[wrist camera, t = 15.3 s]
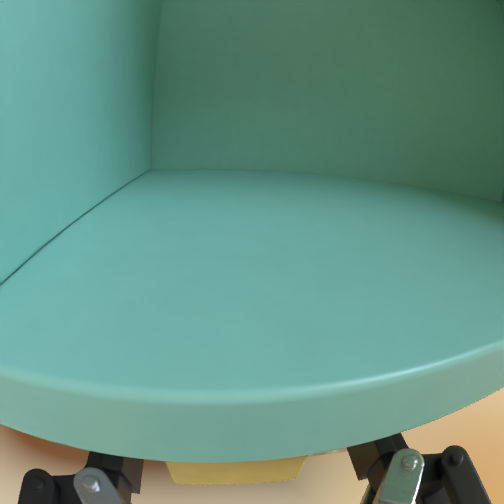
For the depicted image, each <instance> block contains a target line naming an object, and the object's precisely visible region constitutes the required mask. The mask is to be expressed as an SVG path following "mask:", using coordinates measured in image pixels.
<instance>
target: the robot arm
mask: <svg viewBox="0 0 504 504" xmlns="http://www.w3.org/2000/svg"><path fill="white" fill-rule="evenodd" d="M347 450H348V452H349V456H350V458H351V461H352V464H353V466H354V469H355V472H356V475H357V478H358V480H363V479H366V478H368V481H369V484H368V486H367V489H366V491H365V493H364V496H363V498H362V500H361V503H360V504H414V502H415V501H416V504H491V501H490V499H489V497H488V495H487V493H486V490H485V488H484V486H483V484H482V482H481V480H480V477H479V475H478V473H477V471H476V469H475V467H474V465H473V463H472V461H471V459H470V457H469V455H468V454H467V452H466V450H465V449H463V448H462V447H460V446H454V445H453V446H449V447H448V448H446V449H445V450H444V451H443V452H442V453H438V454H420V453H419V452H418V451H416V450H414V449H410V448H409V447H408V446H407V444H406V442H405V440H404V438H403V436H402V434H401V433H397V434H394V435H391V436H388V437H384V438H381V439H377V440H374V441H370V442H366V443H363V444H359V445H354V446H350V447H347ZM143 460H144V459H138V458H130V457H123V456H116V455H110V454H104V453H99V452H94V451H90V452H89V456H88V460H87V464H86V465H85V467H84V468H83V469H82V470H80V471H79V472H78V473H77V474H73V475H62V476H51V475H50V474H49V473H47V472H46V471H44V470H42V469H32V470H30V471H28V472H27V473H26V474H25V476H24V478H23V482H22V486H21V491H20V495H19V500H18V504H132V503H131V502H130V501H131V493H137V494H140V486H141V477H142V469H143Z"/></svg>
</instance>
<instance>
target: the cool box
mask: <svg viewBox="0 0 504 504" xmlns="http://www.w3.org/2000/svg"><path fill="white" fill-rule="evenodd" d="M503 387H504V0H0V424H2V425H5V426H7V427H10V428H13V429H15V430H18V431H21V432H24V433H26V434H29V435H32V436H36V437H39V438H42V439H45V440H49V441H53V442H56V443H60V444H64V445H67V446H71V447H75V448H80V449H84V450H89V451H94V452H99V453H104V454H110V455H116V456H123V457H130V458H138V459H148V460H159V461H172V462H195V463H223V462H247V461H261V460H272V459H281V458H289V457H297V456H303V455H310V454H316V453H321V452H327V451H332V450H337V449H341V448H346V447H350V446H354V445H359V444H363V443H366V442H370V441H374V440H377V439H381V438H384V437H388V436H391V435H394V434H397V433H401V432H404V431H407V430H410V429H412V428H415V427H418V426H421V425H423V424H426V423H428V422H431V421H434V420H436V419H439V418H441V417H443V416H446V415H448V414H451V413H453V412H455V411H458V410H460V409H462V408H464V407H466V406H468V405H470V404H473V403H475V402H477V401H479V400H481V399H482V398H485V397H486V396H488V395H490V394H492V393H494V392H496V391H497V390H499V389H501V388H503Z"/></svg>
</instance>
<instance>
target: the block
mask: <svg viewBox="0 0 504 504" xmlns="http://www.w3.org/2000/svg"><path fill="white" fill-rule="evenodd" d="M307 456H308V455H303V456H297V457H289V458H281V459H272V460H261V461H247V462H223V463H195V462H172V461H165V463H166V465H167V468H168V470H169V472H170V475H171V477H172V479H173V481H174V483H175V484H184V485H236V484H253V483H265V482H274V481H283V480H290V479H296V478H297V477H298V475H299V473H300V471H301V468H302V467H303V464H304V462H305V460H306V458H307Z"/></svg>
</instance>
